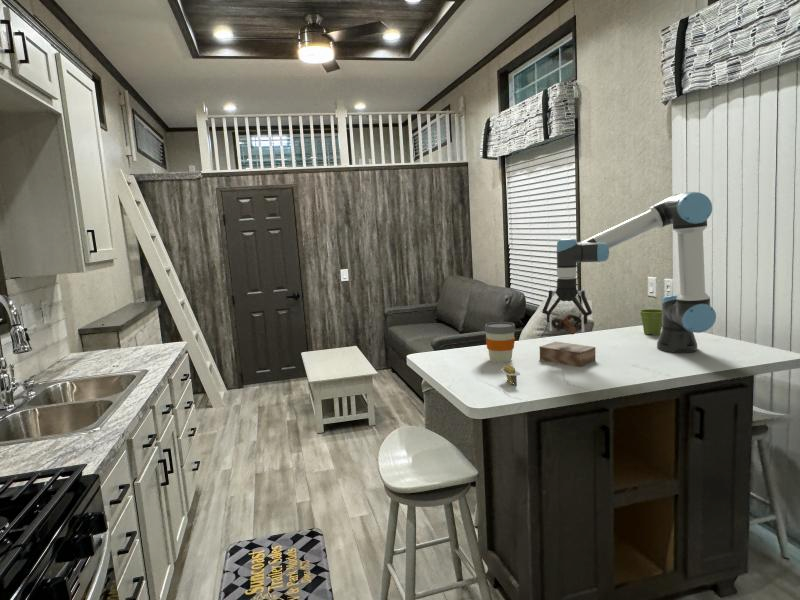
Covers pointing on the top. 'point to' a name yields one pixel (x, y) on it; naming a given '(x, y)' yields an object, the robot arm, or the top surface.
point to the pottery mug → (567, 323)
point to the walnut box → (567, 353)
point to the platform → (511, 374)
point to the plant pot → (651, 321)
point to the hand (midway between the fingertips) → (566, 331)
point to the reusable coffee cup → (500, 340)
